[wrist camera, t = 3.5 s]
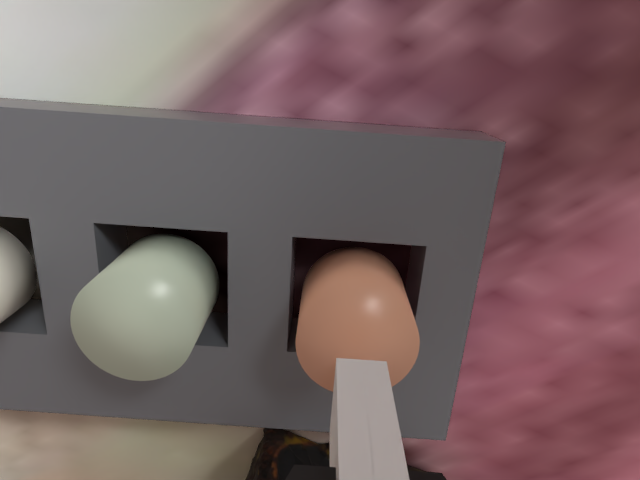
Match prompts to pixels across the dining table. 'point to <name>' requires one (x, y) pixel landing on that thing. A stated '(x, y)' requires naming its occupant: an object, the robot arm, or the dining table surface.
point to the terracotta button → (355, 315)
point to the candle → (287, 455)
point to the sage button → (146, 308)
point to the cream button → (15, 275)
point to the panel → (238, 249)
